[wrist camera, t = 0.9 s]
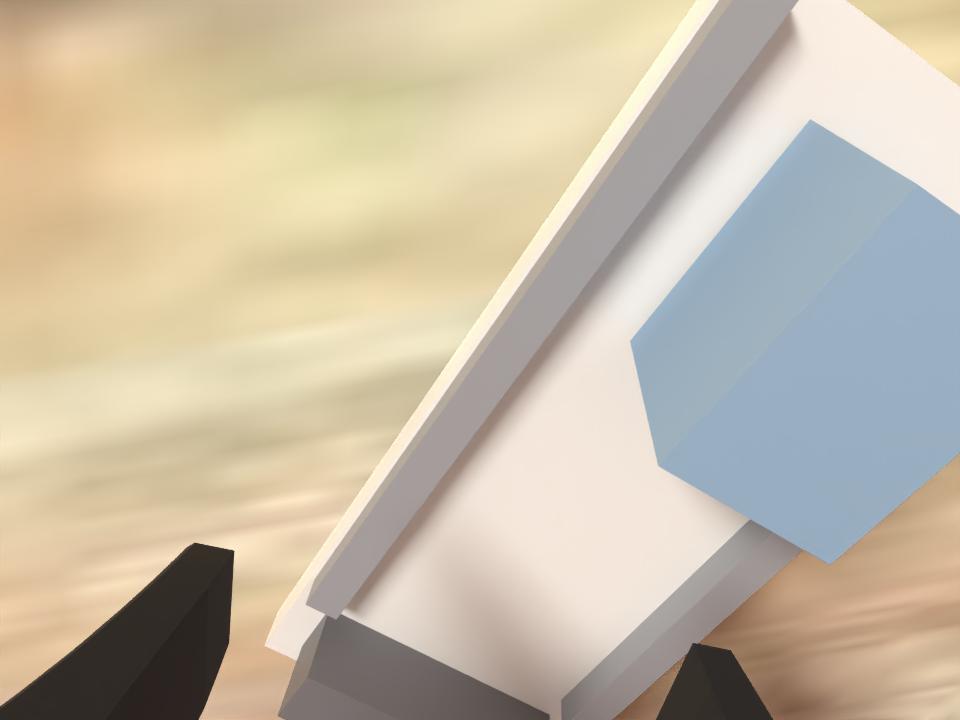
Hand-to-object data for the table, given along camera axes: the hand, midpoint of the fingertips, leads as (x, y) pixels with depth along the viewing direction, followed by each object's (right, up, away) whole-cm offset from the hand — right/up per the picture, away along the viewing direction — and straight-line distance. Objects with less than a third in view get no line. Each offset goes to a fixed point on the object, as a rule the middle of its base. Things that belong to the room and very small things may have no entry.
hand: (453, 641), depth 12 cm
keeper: (+7, +6, +5) cm, 11 cm away
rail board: (+4, +2, +9) cm, 10 cm away
